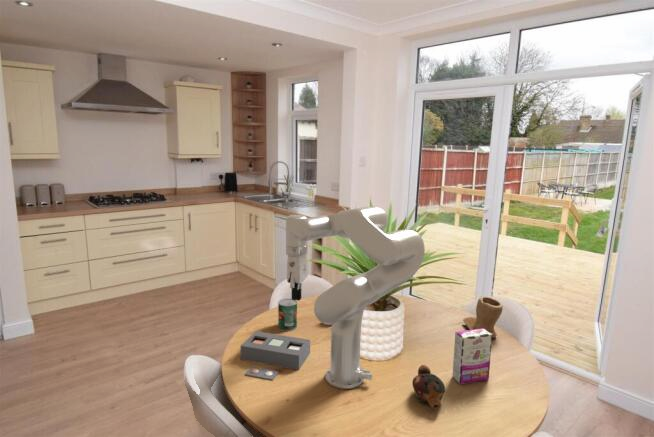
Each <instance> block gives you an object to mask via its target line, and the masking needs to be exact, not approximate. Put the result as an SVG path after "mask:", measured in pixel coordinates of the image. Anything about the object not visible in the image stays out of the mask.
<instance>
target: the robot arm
mask: <svg viewBox="0 0 654 437" xmlns="http://www.w3.org/2000/svg"><path fill="white" fill-rule="evenodd" d="M388 224H389V218H388V213H387V212H386V211H385V210H384V209H382V208H381V207H379V206H365V207H359V208H352V209H344V210H340V211H337V213H333V214H325V215H324V214H323V215H316V216H312V217H307V216H306V215H303V214H290V215H288V216H286V218H285V254H286V256H287V259H286V260H287V261H286V263H287V264H286V282H287V283H288V284H289V283H290V285H289V288H291V299H292V300H296V301H301V300H302V287H303V286H302V285H303V282H304V281H305V280H306V279H307V278H308V257H307V255H308V241H314V240H318V239H322V238H326V237H327V238H328V237H335V236H338V237H339V238H342V239H347V238H348V239H349V240H350V241H351V242H352V243H354V245H356V246H357V248H359V249H360V251H362V252H363V253H364V254H365V255H366V256H367V257H368V258H369V259H370V260H371V261H373V262H374V263H375V264H376V265H375V266H374V267H373V268H371V269H369V270H368V271H365V272H362V273H359V274H356V275H353V276H350V277H347V278H345V279H342V280H341V281H339V282H337V283H336V284H333V285H332V286H331V287H330V288H328V289H327V290H325V291H324V292H322V293H320V295H319V296H318V297H317V298H316V299H315V301H314V306H313V312H314V315H315V317H316V319H317V320H318V321H319V322H320V323H322V324H323V325H331V332H330V335H331V336H330V363H329V364H330V365H329V366H330V368H328V369H327V370H326V372H325V380H326V382H327V383H328V384H329V385H331V386H333V387H334V388H338V389H343V390H347V389H349V390H350V389H355V388H357V387H359V386H360V385H362V384H363V382H364V381H365V380H368V381H372V380H373V373H371V370H370V369H364V368H362V365H363V364H362V363H361V362H360V361H361V360H360V359H361V337H362V336H361V333H362V321H363V315H364V311H365V308H366V307H369V306H371V305H372V304H374V303H376V302H377V301H378V300H380V299H381V298H383V297H384V296H386V295H388V294H389V293H391V292H393V291H394V290H395V289H397V288H399V287H400V286H401V285H403V284H405V283H407V282H408V281H409V280H411V278H412V277H414V276H415V274H417V273H418V271H419V270H420V268H421V266H422V264H423V262H424V259H425V250H426V249H425V242H424V239H423V238H422V236H421V234H419V232H417V231H415V230H412V229H407V228H406V229H398V230H393V231H390V232H389V231H388V232H386V233H385V232H384V231H385V229H386V228H387V226H388Z"/></svg>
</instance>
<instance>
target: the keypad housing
mask: <svg viewBox="0 0 654 437" xmlns="http://www.w3.org/2000/svg"><path fill="white" fill-rule="evenodd" d="M272 339H276V340H282V341H284V343H283V344H282V345H281V347H276V346H270V345H268V344H269V343H270V342H271V341H272ZM255 340H261V341H264V342H263V343H262V344H258V343H253V342H254V341H255ZM291 345H292V346H298V347H301V348H300V349H299V350H294V349H288V348H289V347H290V346H291ZM310 354H311V339H309V338H308V339H307V338H301V337H295V336H289V335H288V336H287V335H282V334H275V333H269V332H264V331H257V330H256V331H254V332H253V333H252V334H251V335H250V336H249V337H248V338H247V339H246V340H245V341H244V342H242V344H240V360H242V361H247V362H253V363H258V364H264V365H270V366H275V367H281V368H285V369H286V368H287V369H292V370H296V371H300V370H301V368H302V366H303V364H304V363H305V361H306V360H307V359H308V357H309V355H310Z"/></svg>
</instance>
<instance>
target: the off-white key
mask: <svg viewBox="0 0 654 437" xmlns="http://www.w3.org/2000/svg"><path fill="white" fill-rule="evenodd" d="M300 348H301V347H298V346H292V345H291V346H290V347H289V348H288V349H294V350H299V349H300Z"/></svg>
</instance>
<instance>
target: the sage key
mask: <svg viewBox="0 0 654 437" xmlns="http://www.w3.org/2000/svg"><path fill="white" fill-rule="evenodd" d="M283 343H284V341H282V340H276V339H272V341H271V342H270V343H269V344H268V345H270V346H276V347H281V345H282V344H283Z"/></svg>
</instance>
